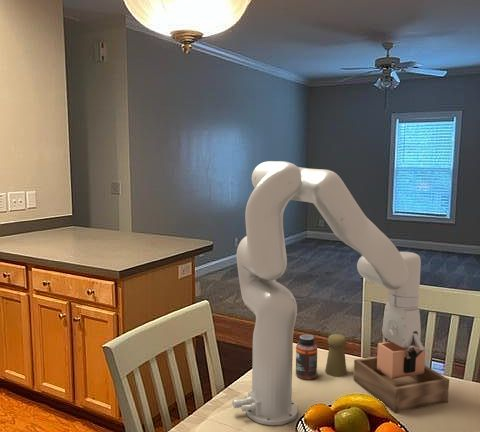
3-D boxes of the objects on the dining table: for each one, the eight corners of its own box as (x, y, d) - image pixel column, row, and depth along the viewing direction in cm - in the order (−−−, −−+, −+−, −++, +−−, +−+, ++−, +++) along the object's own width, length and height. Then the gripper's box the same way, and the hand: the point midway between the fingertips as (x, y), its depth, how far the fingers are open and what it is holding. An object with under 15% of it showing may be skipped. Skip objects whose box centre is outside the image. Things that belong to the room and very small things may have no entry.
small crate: (391, 379, 123) (393, 352, 122) (376, 368, 129) (377, 343, 128) (424, 373, 126) (425, 347, 125) (408, 363, 132) (409, 338, 131)
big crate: (394, 413, 117) (395, 389, 116) (353, 380, 134) (354, 359, 133) (447, 402, 122) (449, 379, 122) (401, 372, 139) (402, 352, 138)
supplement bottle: (320, 374, 138) (321, 335, 136) (311, 382, 133) (312, 342, 131) (301, 369, 141) (301, 331, 139) (291, 376, 136) (292, 337, 134)
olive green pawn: (346, 378, 135) (348, 340, 134) (324, 376, 136) (326, 338, 135) (346, 368, 141) (347, 332, 140) (325, 366, 142) (326, 330, 141)
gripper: (371, 292, 132) (369, 355, 134) (413, 311, 116) (410, 383, 118) (394, 290, 134) (391, 351, 137) (439, 308, 118) (435, 378, 120)
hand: (400, 365), depth 127 cm, fingers closed on small crate, 6 cm apart
